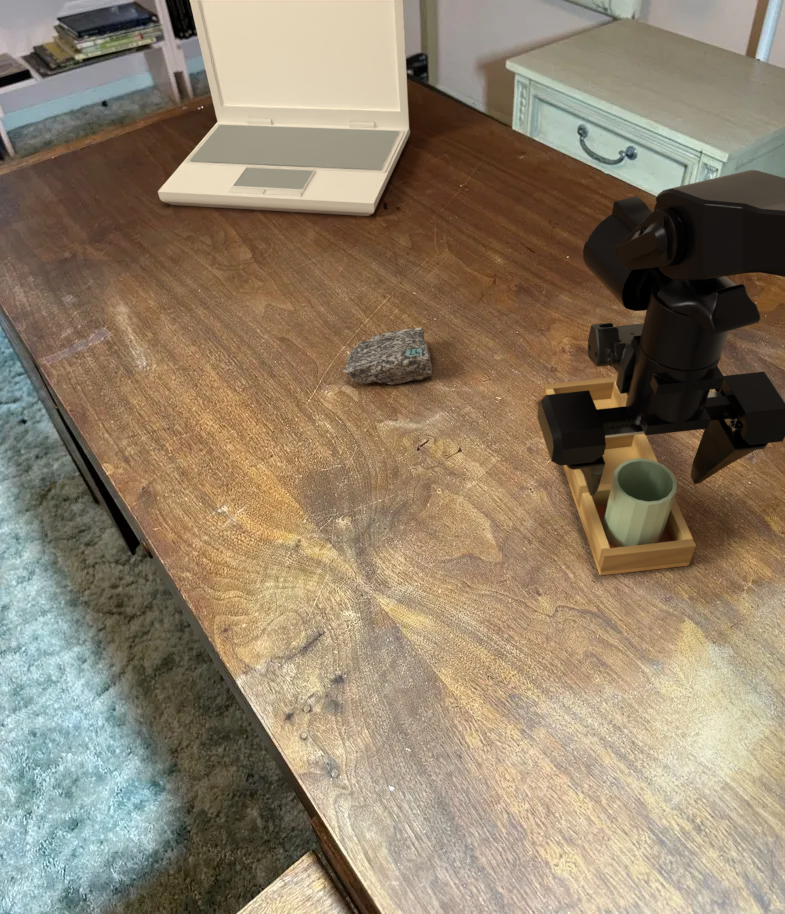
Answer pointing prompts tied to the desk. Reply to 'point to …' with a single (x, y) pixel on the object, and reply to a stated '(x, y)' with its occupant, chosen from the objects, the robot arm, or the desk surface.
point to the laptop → (298, 106)
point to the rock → (390, 358)
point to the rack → (591, 509)
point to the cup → (639, 503)
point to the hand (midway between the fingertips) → (642, 485)
